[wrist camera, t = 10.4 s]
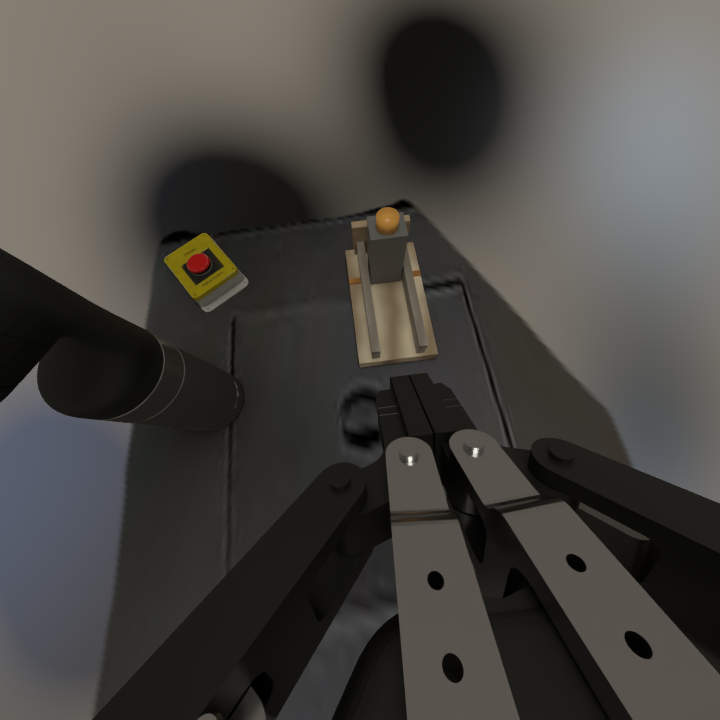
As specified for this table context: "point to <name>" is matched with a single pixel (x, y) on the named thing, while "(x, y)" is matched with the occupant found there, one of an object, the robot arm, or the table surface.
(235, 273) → the emergency button
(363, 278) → the track
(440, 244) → the table surface
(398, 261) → the orange-capped grey pillar
